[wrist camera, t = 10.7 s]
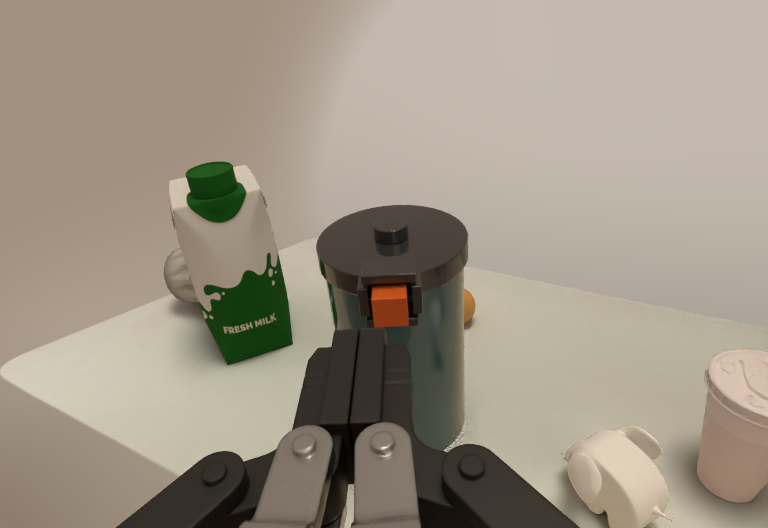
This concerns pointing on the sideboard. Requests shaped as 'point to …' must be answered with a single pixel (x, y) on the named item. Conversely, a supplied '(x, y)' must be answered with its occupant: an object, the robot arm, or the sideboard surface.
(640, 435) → the elephant figurine
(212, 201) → the milk carton
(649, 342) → the sideboard surface
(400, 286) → the lid button
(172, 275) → the cupcake
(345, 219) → the jug
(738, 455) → the smoothie
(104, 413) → the sideboard surface
